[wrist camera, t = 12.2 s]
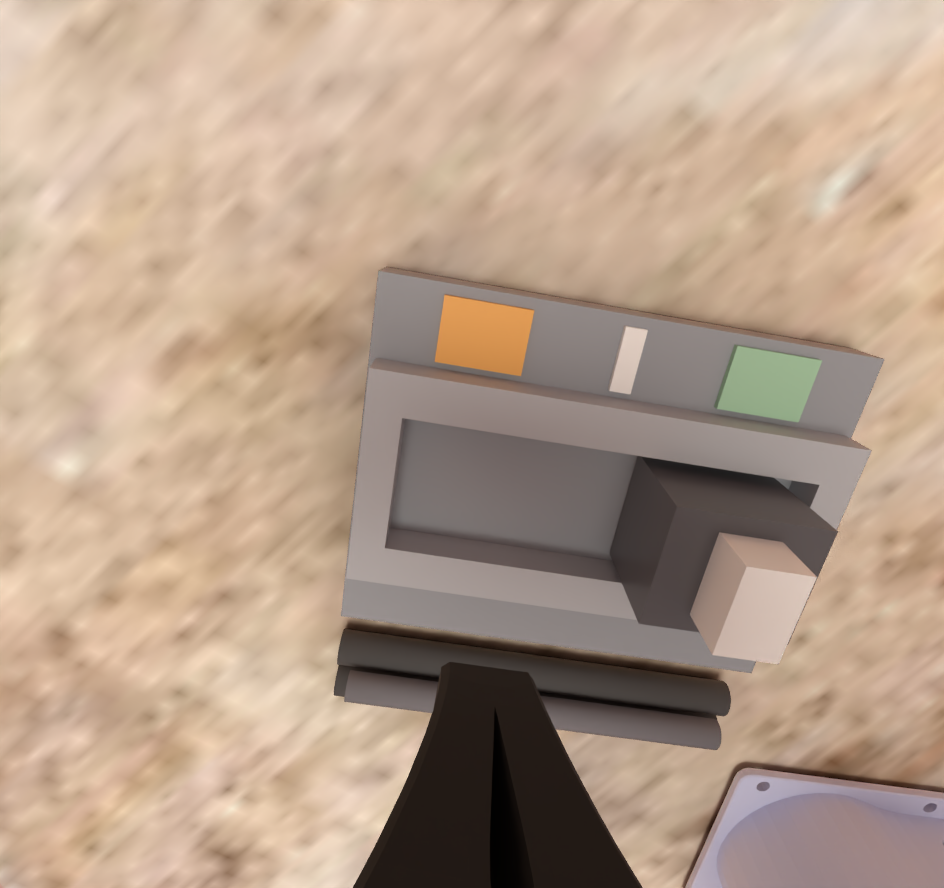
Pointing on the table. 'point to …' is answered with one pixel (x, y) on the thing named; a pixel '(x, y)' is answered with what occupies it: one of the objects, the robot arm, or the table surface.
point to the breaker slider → (718, 555)
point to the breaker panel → (566, 453)
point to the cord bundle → (540, 688)
